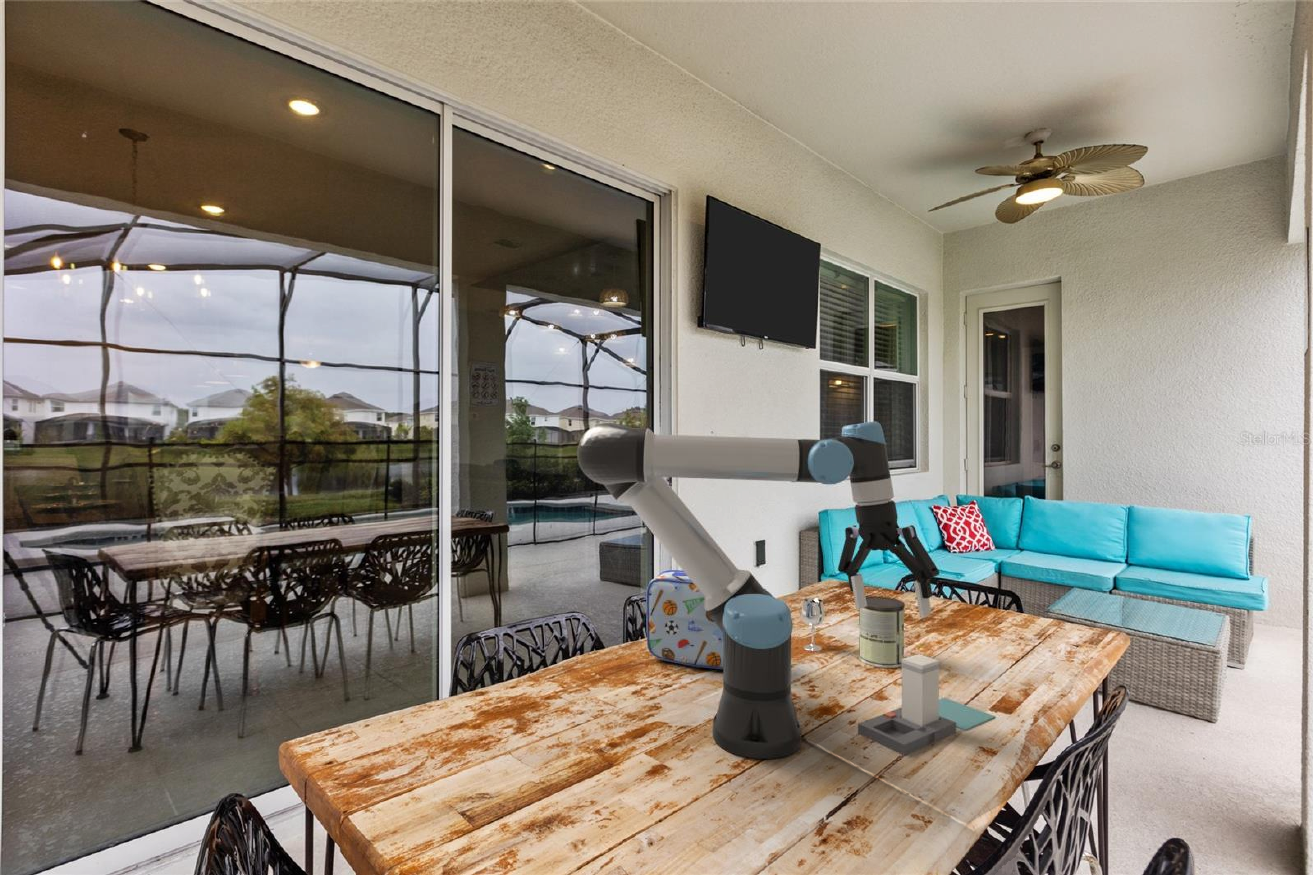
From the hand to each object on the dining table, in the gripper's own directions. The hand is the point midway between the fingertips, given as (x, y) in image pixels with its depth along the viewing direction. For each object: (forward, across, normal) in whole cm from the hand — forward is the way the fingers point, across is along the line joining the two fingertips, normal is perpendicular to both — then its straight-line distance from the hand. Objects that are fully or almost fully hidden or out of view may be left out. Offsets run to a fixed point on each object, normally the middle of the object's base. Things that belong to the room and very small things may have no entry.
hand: (892, 611), depth 117 cm
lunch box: (+13, +43, +14) cm, 47 cm away
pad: (+21, -6, -5) cm, 22 cm away
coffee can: (+20, +20, -22) cm, 35 cm away
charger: (+18, -6, +6) cm, 20 cm away
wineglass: (+18, +35, -16) cm, 42 cm away
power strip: (+19, -5, +10) cm, 22 cm away
